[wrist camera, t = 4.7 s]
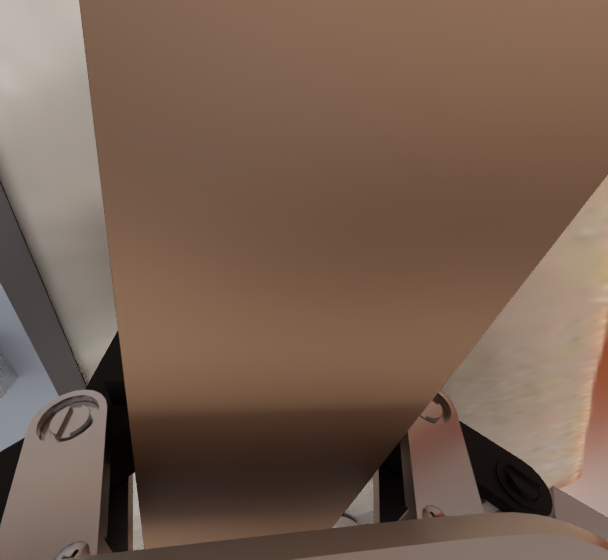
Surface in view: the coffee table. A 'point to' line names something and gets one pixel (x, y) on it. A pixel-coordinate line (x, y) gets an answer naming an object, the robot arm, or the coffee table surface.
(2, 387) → the steel ridge
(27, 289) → the fulcrum base
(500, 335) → the coffee table surface
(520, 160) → the walnut batten
